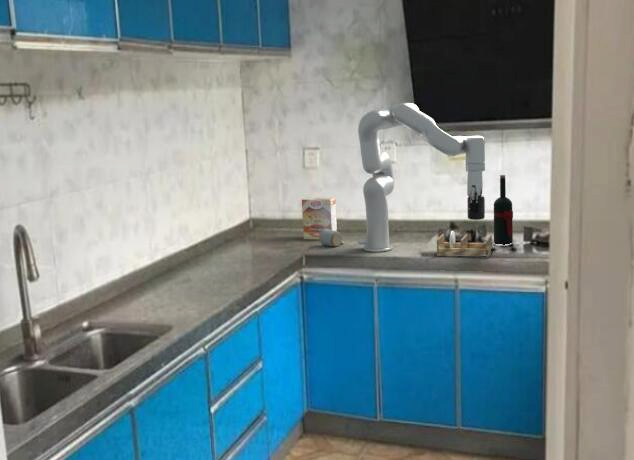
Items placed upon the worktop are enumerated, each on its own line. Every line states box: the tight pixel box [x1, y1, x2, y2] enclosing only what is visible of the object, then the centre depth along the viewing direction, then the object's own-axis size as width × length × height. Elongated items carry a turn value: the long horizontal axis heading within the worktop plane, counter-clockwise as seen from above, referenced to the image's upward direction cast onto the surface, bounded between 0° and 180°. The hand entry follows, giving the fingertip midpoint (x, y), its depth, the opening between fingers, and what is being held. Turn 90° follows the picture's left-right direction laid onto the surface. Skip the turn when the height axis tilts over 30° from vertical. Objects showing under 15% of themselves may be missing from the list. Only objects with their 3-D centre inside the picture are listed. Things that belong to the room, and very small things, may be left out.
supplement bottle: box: [466, 188, 486, 221], centre depth 289 cm, size 7×7×12 cm
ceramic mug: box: [319, 229, 345, 248], centre depth 325 cm, size 11×8×8 cm
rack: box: [436, 233, 493, 257], centre depth 294 cm, size 20×12×7 cm, turn 69°
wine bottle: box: [493, 174, 514, 245], centre depth 304 cm, size 8×10×30 cm
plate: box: [449, 230, 456, 248], centre depth 296 cm, size 1×9×9 cm, turn 160°
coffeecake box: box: [301, 197, 338, 241], centre depth 342 cm, size 15×7×20 cm, turn 67°
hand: (476, 210), depth 290 cm, fingers closed on supplement bottle, 6 cm apart
